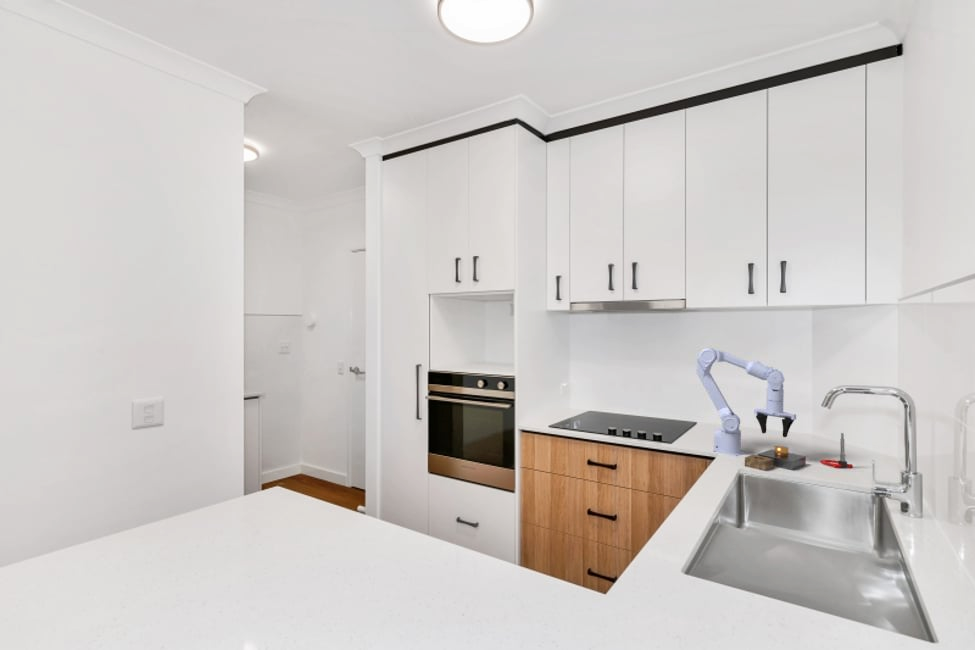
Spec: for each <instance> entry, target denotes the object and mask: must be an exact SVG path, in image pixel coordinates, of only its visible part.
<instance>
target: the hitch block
mask: <svg viewBox="0 0 975 650" xmlns="http://www.w3.org/2000/svg"><path fill="white" fill-rule="evenodd" d="M774 450H775V449H769V450H765V451H763V452H759V453H757V454H756V455H758V456H763V457H767V458H772V459H774V460H773V468H774V467H776V468H779V469H784V470H788V471H792V470H793V471H794V470H797V469H800V468H802V467H804V466H806V457H807V456H805V455H801V454H796V453H791V452H788V457H780V456H776V455H774Z"/></svg>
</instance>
